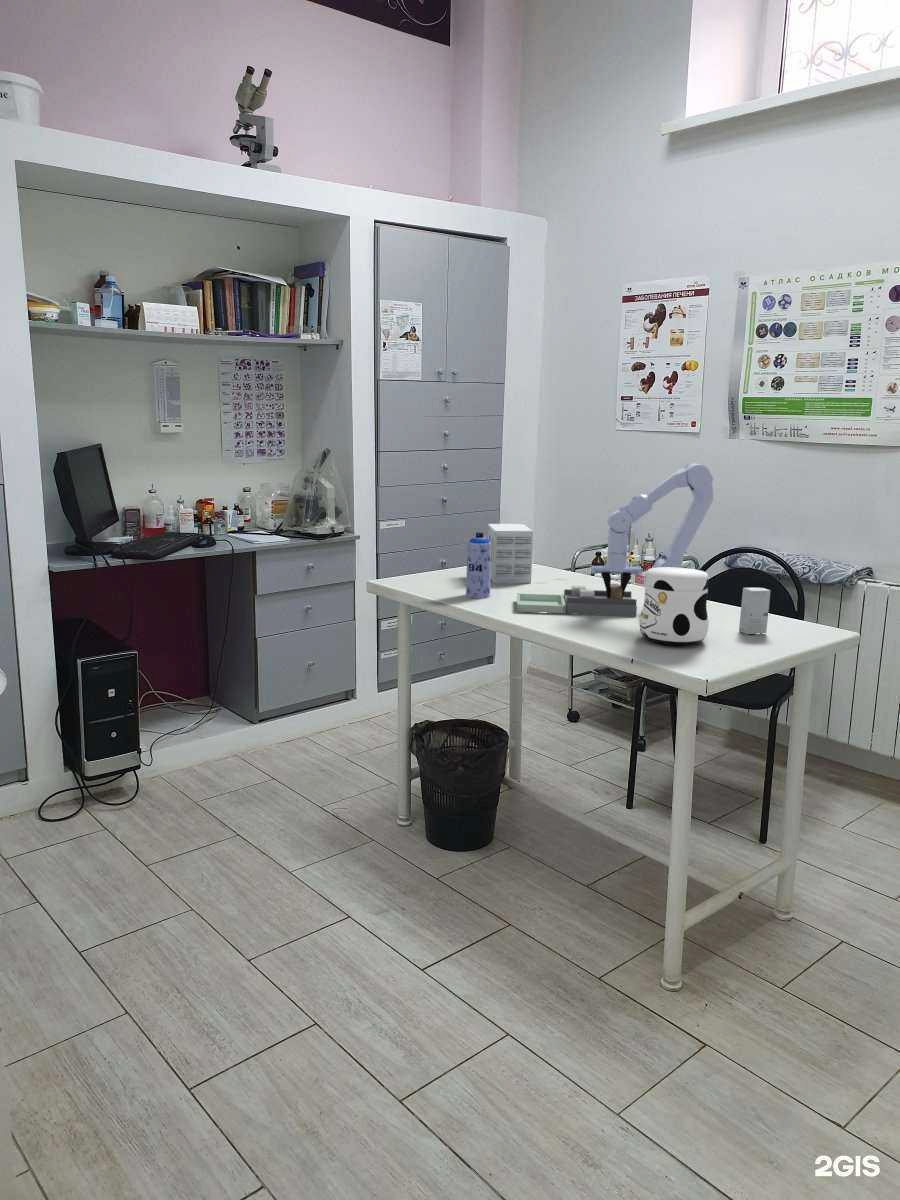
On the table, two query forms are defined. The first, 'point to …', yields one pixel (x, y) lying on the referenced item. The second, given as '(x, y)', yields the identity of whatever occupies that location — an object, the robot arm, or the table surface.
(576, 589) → the grey small block
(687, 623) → the milk container
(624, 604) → the channel board
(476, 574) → the aerosol can
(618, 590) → the bar
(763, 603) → the skincare box
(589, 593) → the chip near
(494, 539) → the supplement box
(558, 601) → the chip tray
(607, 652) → the table surface
